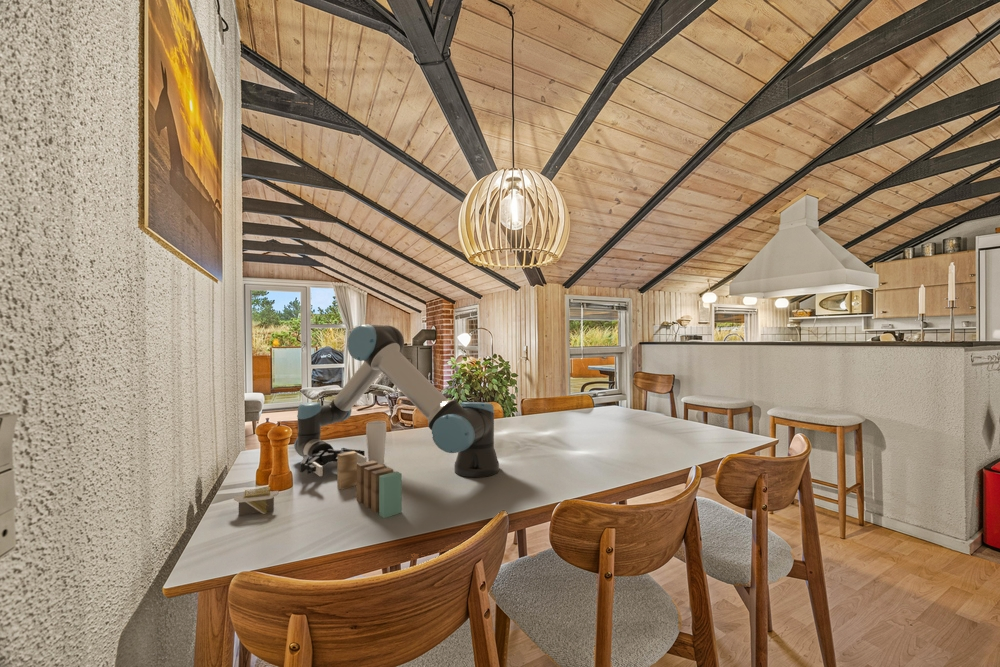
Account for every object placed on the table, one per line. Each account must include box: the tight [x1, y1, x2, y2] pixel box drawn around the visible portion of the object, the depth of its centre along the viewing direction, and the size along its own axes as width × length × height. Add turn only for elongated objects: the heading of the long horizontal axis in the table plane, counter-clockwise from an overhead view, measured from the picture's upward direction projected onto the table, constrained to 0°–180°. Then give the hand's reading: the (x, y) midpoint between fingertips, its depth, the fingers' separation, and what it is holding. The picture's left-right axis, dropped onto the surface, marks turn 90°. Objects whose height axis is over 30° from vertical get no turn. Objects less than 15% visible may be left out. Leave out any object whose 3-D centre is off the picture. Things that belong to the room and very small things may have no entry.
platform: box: [233, 486, 279, 516], centre depth 104 cm, size 12×18×7 cm, turn 110°
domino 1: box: [336, 451, 358, 490], centre depth 123 cm, size 5×2×10 cm, turn 134°
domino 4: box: [370, 467, 394, 513], centre depth 107 cm, size 5×2×10 cm, turn 134°
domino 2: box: [356, 460, 378, 504], centre depth 113 cm, size 5×2×10 cm, turn 134°
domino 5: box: [378, 471, 403, 519], centre depth 104 cm, size 5×2×10 cm, turn 134°
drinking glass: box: [365, 420, 387, 465], centre depth 143 cm, size 7×7×15 cm
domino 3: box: [363, 464, 386, 508], centre depth 110 cm, size 5×2×10 cm, turn 134°
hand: (344, 466), depth 124 cm, fingers open, 13 cm apart
